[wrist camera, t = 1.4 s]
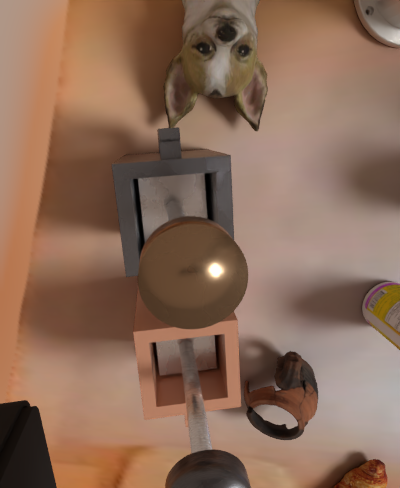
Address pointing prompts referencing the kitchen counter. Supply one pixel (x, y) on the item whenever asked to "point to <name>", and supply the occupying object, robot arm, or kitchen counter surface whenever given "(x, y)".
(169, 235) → the plunger bronze
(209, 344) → the grey plunger
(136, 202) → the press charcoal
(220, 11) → the ceramic sculpture
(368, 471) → the croissant
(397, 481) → the kitchen counter surface
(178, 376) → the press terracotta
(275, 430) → the brown curved piece
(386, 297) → the supplement bottle
